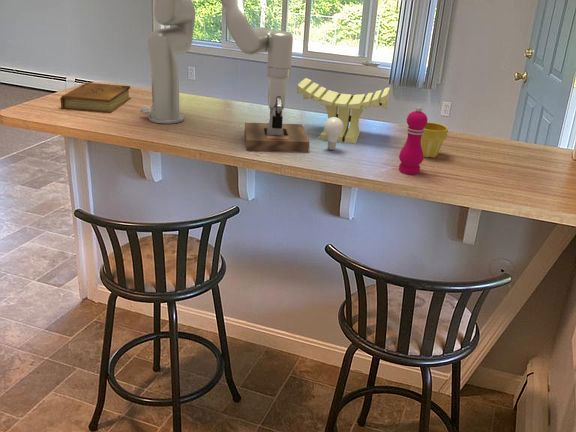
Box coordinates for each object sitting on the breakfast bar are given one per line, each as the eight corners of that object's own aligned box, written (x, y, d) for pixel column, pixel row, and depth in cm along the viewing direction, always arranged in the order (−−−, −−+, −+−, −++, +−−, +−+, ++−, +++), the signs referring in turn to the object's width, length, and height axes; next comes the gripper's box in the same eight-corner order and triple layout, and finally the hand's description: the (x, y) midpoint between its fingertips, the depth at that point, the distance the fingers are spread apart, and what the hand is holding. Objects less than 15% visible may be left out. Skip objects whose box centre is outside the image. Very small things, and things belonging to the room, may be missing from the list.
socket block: (246, 150, 183) (246, 139, 182) (244, 132, 201) (244, 121, 200) (308, 152, 185) (309, 141, 184) (301, 133, 203) (301, 123, 202)
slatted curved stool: (384, 134, 209) (390, 85, 202) (379, 147, 195) (386, 95, 188) (303, 124, 215) (307, 76, 207) (294, 135, 201) (297, 84, 193)
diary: (86, 96, 235) (84, 82, 232) (131, 100, 234) (130, 86, 231) (61, 110, 214) (59, 95, 211) (110, 114, 213) (109, 99, 210)
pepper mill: (394, 166, 178) (403, 102, 170) (417, 167, 179) (427, 103, 170) (400, 174, 172) (410, 109, 163) (423, 175, 172) (435, 110, 164)
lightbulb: (343, 148, 191) (346, 116, 186) (338, 154, 185) (341, 121, 181) (324, 145, 193) (327, 113, 188) (319, 151, 187) (322, 118, 183)
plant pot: (442, 151, 195) (447, 123, 191) (444, 161, 186) (449, 132, 182) (411, 148, 196) (415, 120, 192) (411, 157, 187) (416, 128, 183)
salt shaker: (284, 140, 196) (286, 102, 190) (282, 145, 191) (284, 106, 185) (267, 138, 196) (269, 100, 191) (264, 143, 191) (266, 104, 186)
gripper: (265, 66, 191) (262, 116, 198) (268, 77, 175) (266, 131, 183) (287, 67, 192) (284, 117, 199) (293, 78, 176) (289, 132, 183)
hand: (275, 123), depth 191 cm, fingers open, 9 cm apart
